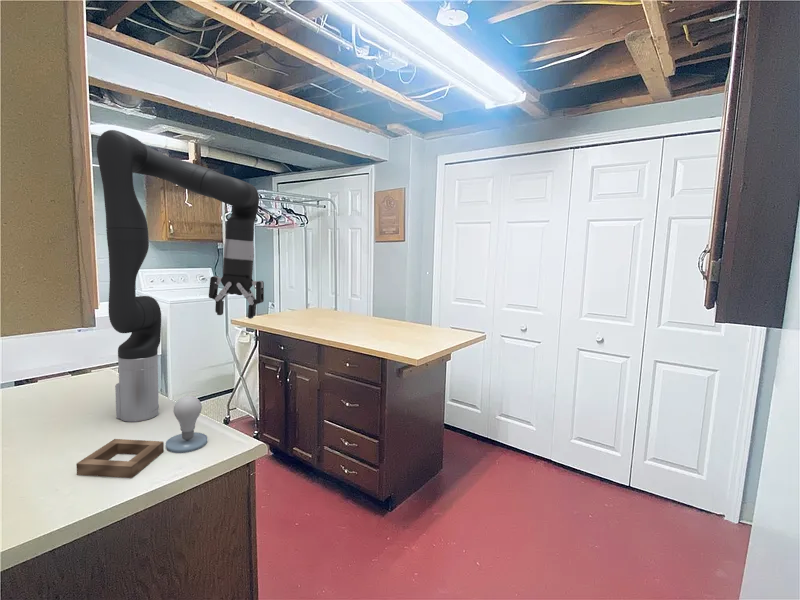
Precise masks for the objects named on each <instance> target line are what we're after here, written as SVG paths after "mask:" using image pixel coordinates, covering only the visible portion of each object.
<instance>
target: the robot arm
mask: <svg viewBox="0 0 800 600" xmlns="http://www.w3.org/2000/svg"><path fill="white" fill-rule="evenodd" d="M96 155H97V162H98V166H99V172H100V176H101V177H100V178H101V183H102V188H103V201H104V211H105V225H106V226H105V227H106V230H105V231H106V240H107V249H108V265H109V269H108V270H109V284H108V285H109V286H108V316H109V317H108V318H109V323H110V324H111V327H112V328H113V329H114V330H115V331H116V332H118V333H120V334H130V333H131V334H130V335H129V337H128V338H127V339H126V340H125V341H124V342H122V343H121V344H120V345H119V346H118V348H117V359H118V360H117V362H118V363H117V365H118V383H116V384H115V387H114V388H115V389H114V390H115V416H116V419H118V420H121V421H124V422H142V421H147V420H150V419H153V418H155V417H157V416H158V414H159V413H160V411H159V410H160V405H159V400H160V399H159V397H160V396H159V364H158V363H159V356H158V355H159V354H158V350H159V347H160V343H161V340H162V339H161V336H162V311H161V307H160V304H159V302H158V301H157V300H156V299H155V298H154V297H152V296H149V295H138V296H136V281H137V276H138V273H139V271H140V269H141V267H142V265H143V263H144V261H145V259H146V257H147V254H148V252H149V248H150V247H149V246H150V243H149V241H150V240H149V239H150V238H149V230H148V229H149V227H148V221H147V218H146V216H145V213H144V209H143V208H142V206H141V204H140V202H139V199H138V198H137V197H138V196H137V195H136V191H135V187H134V181H133V180H134V177H133V174H139V175H144V176H149V177H155V178H158V179H161V180H163V181H167V182H170V183H172V184H174V185H176V186H179V187H180V188H182V189H185V190H188V191H190V192H193V193H196V194H199V195H202V196H204V197H208V198H211V199H215V200H217V201H219V202H222V203H224V204H226V205H229V206H232V210H231V216H230V217H228V218H227V220H226V224H225V240H224V244H223V259H222V260H223V261H222V277H221V276H217V275H213V276H211V277H210V280H209V290H208V298H209V299H212V300H214V301H215V307H214V308H215V309H214V310H215V313H216V315H217V316H222V315H223V314H224V305H225V303H224V299H225V298H226V297H227V296H228V295H236V296H243V297H244V298H245V300H246V301H247V302H248V303H249V304H248V307H247V308H248V309H247V318H248V319H251V320H252V319H254V317H255V316H256V315H257V305H258V304H262V303H264V302H265V301H264V300H265V293H264V292H265V288H264V287H265V285H264V284H265V283H264V280H257V281H256V280H253V273H254V272H253V271H254V270H253V269H254V258H255V252H254V251H255V247H254V235H255V233H254V231H255V222H256V219H257V214H258V210H259V203H260V195H259V191H258V189H257V188H256V187H255V185H253V184H251V183H249V182H247V181H244V180H241V179H240V178H236V177H232V176H230V175H227V174H221V173H220V172H218V171H215V170H214V169H211V168H207V167H205V166H203V165H199V164H197V163H193V162H189V161H186V160H182V159H177V158H175V157H171V156H168V155H166V154H163V153H161V152H159V151H157V150H156V149H153V148H152V147H150V146H148V145H146V144H145V143H143V142H142V141H140V140H139V139H137V138H136V137H133V136H131V135H129V134H127V133H124V132H122V131H119V130H115V129H109V130H105V131H103V133H102V134H100V136H99V137H98V140H97V144H96ZM220 285H222V286H223V287H222V289H221V290H220V291H219V286H220ZM252 287H254V289H255V294H254V292H253V291H252V289H251V288H252ZM218 291H219V293H218Z"/></svg>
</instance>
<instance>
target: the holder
mask: <svg viewBox="0 0 800 600" xmlns="http://www.w3.org/2000/svg"><path fill="white" fill-rule="evenodd" d="M164 449H165V447H164V441H160V440H139V439H123V438H114V439H112V440H111V441H109V442H108V443H106V444H104V445H103V446H102V447H99V448H98V449H97V450H95V451H93V452H92V453H91V454H89V455H87V456H86V457H84V458H83V459H80V460H79V461H78V462H76V475H77V476H84V477H85V476H90V477H102V478H103V477H105V478H106V477H107V478H122V479H124V478H127V479H133V478H134V477H135V476H136V475H138V474H139V473H140V472H141V471H142V470H144V469H145V468H146V467H147V466H149V465H150V464H151V463H152V462H154V460H156V459H157V458H158V457H159V456H161V455H162V454H164V452H165V450H164ZM118 454H119V455H133V456H134V455H135V456H134V457H131V459H130V460H115V459H114V460H111V459H112V458H113V457H115V456H116V455H118Z"/></svg>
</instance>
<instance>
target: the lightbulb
mask: <svg viewBox="0 0 800 600" xmlns="http://www.w3.org/2000/svg"><path fill="white" fill-rule="evenodd" d="M202 408H203V405H202V403H201V400H200V399H198V397H196V396H194V395H184V396H181V397H180V398H178V400H177V401H176V402H175V403H174V405H173V410H172V411H173V415H174V417H175V418H176V420H177V421H178V423H179V427H180V431H181V434H182V438H183V439H184V440H186V441H188V440H190V439H192V438H193V437H194V432H195V428H196V424H197V420H198V418H199V417H200V414H201V412H202Z"/></svg>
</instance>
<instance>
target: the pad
mask: <svg viewBox="0 0 800 600" xmlns="http://www.w3.org/2000/svg"><path fill="white" fill-rule="evenodd" d="M207 443H208V436H207V434H205V433H202V432H197V431H196V432H195V431H194V437H193V438H192V439H190V440H188V441H186V440H184V439H183V438H182V433H179V434H175V435H173V436H171V437H170V438H168V439H167V440H166V441H165V449H166V451H168V452H170V453H173V454H174V453H175V454H186V453H192V452H195V451H198V450H200V449H203V448H204V447H205V446H206V445H207Z"/></svg>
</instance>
